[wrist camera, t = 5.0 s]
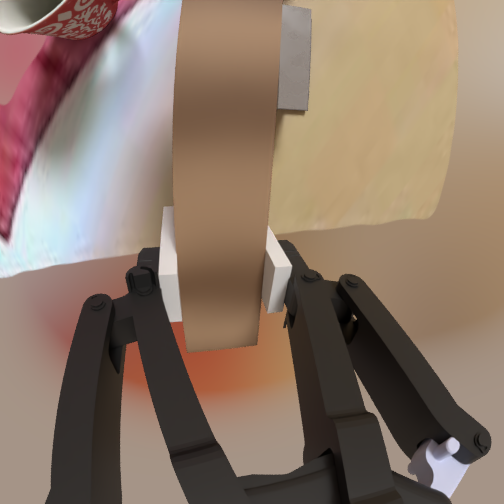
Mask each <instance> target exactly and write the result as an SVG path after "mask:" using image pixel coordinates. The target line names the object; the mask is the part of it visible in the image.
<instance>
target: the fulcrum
mask: <svg viewBox="0 0 504 504" xmlns="http://www.w3.org/2000/svg"><path fill="white" fill-rule="evenodd" d="M311 23H312V19H311V9H306V8H301V7H295V6H289V5H282V25H281V44H280V61H279V78H278V94H277V109H289V110H305V111H308V98H309V80H310V57H311Z"/></svg>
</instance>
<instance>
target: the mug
mask: <svg viewBox="0 0 504 504" xmlns="http://www.w3.org/2000/svg"><path fill="white" fill-rule="evenodd" d="M118 1H119V0H0V33H3V34H6V35H13V34H19V33H28V34H40V35H47V36H55V37H62V38H66V39H70V40H81V39H86V38H89V37H91V36H93V35H95V34H97V33H98V32H100V31H101V30H102V29H104V28H105V27H106V26H107V25H108V24H109V23H110V21H111V20H112V18H113V17H114V15H115V13H116V10H117V6H118Z"/></svg>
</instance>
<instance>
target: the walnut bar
mask: <svg viewBox="0 0 504 504" xmlns="http://www.w3.org/2000/svg"><path fill="white" fill-rule="evenodd" d="M282 5H283V0H183V1H182V8H181V16H180V24H179V33H178V43H177V54H176V67H175V83H174V104H173V203H174V225H175V242H176V254H177V265H178V277H179V289H180V299H181V310H182V318H183V326H184V333H185V342H186V349H187V353H189V352H201V351H212V350H221V349H230V348H238V347H246V346H254V345H257V341H258V330H259V320H260V308H261V297H262V286H263V276H264V265H265V253H266V242H267V230H268V218H269V205H270V192H271V179H272V166H273V153H274V139H275V124H276V109H277V94H278V78H279V61H280V44H281V25H282Z"/></svg>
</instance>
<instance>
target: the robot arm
mask: <svg viewBox="0 0 504 504" xmlns="http://www.w3.org/2000/svg"><path fill="white" fill-rule="evenodd" d="M125 278H126V283H127V287H128V291H129V293H128V294H126V295H125V296H123V297H120V298H117V299H114V300H112V299H111V298H110V297H109V296H108V295H106V294H95V295H93V296H90V297H89V298H88V299H87V300H86V301H85V303H84V304H83V307H82V310H81V314H80V317H79V320H78V323H77V326H76V330H75V334H74V337H73V341H72V345H71V348H70V352H69V356H68V360H67V365H66V369H65V373H64V377H63V382H62V387H61V392H60V398H59V403H58V409H57V416H56V424H55V431H54V440H53V450H52V465H51V489H50V492H49V495H48V497H47V500H46V502H45V504H122V491H121V472H120V417H121V397H122V384H123V372H124V362H125V351H126V344H129V343H132V342H135V341H138V345H139V350H140V355H141V359H142V364H143V367H144V372H145V376H146V379H147V384H148V387H149V391H150V394H151V398H152V402H153V405H154V408H155V412H156V415H157V418H158V421H159V425H160V428H161V431H162V434H163V436H164V439H165V442H166V445H167V448H168V451H169V454H170V459H171V462H172V465H173V468H174V471H175V473H176V476H177V478H178V480H179V483H180V485H181V487H182V490H183V492H184V494H185V496H186V499H187V501H188V503H189V504H452V503H451V501H450V499H449V498H450V497H451V495H452V493H453V492H454V490H455V489H456V487H457V485H458V484H459V482H460V480H461V479H462V477H463V475H464V473H465V472H466V470H467V468H468V466H469V465H470V464H471V463H473V462H475V461H476V460H478V459H480V458H481V457H483V456H485V455H486V454H487V453H488V452H489V450H490V447H491V437H490V434H489V432H488V431H487V430H486V428H484V427H483V426H482V425H481V424H480V423H478V422H477V421H476V420H475V419H474V418H472V417H471V416H470V415H469V414H467V413H466V412H465V411H464V410H463V409H462V408H460V407H459V406H458V405H457V404H456V402H455V401H454V399H453V398H452V396H451V395H450V393H449V392H448V390H447V389H446V387H445V386H444V384H443V383H442V382H441V380H440V379H439V377H438V376H437V375H436V373H435V372H434V370H433V369H432V368H431V366H430V365H429V364H428V362H427V361H426V359H425V358H424V357H423V355H422V354H421V352H420V351H419V350H418V348H417V347H416V346H415V344H413V342H412V341H411V339H410V338H409V337H408V335H407V334H406V333H405V332H404V330H403V329H402V328H401V326H400V325H399V324H398V323H397V322H396V320H395V319H394V317H393V316H392V315H391V314H390V312H389V311H388V310H387V309H386V308H385V306H384V305H383V304H382V303H381V302H380V300H379V299H378V298H377V297H376V295H375V294H374V293H373V292H372V291H371V289H370V288H369V287H368V286H367V285H366V283H365V282H364V281H363V280H362V279H361V278H359V277H357V276H355V275H352V274H344V275H342V276H341V277H340V279H339V281H338V282H336V281H328V280H324V279H323V277H322V276H321V274H319V273H318V272H317V271H314V270H311V269H309V268H308V266H307V265H306V263H305V262H304V260H303V259H302V257H301V256H300V254H299V252H298V251H297V250H296V248H295V246H294V245H293V244H292V243H290V242H289V241H287V240H277V239H276V238H275V236H274V234H273V233H272V231H271V229H270V228H269V226H268V230H267V242H266V253H265V265H264V276H263V286H262V297H261V298H262V300H263V302H264V305H265V308H266V311H267V313H274V312H282V311H283V307H284V303H285V305H286V307H287V313H286V318H285V321H284V326H283V328H286V324H287V327H288V333H289V339H290V345H291V352H292V358H293V364H294V371H295V377H296V384H297V390H298V397H299V404H300V411H301V418H302V424H303V432H304V440H305V446H304V451H303V463H304V465H303V466H301V467H300V468H298V469H296V470H294V471H293V472H291V473H289V474H284V475H255V474H254V475H253V474H252V475H247V476H241V477H236V475H235V473H234V471H233V469H232V467H231V465H230V463H229V461H228V459H227V457H226V455H225V454H224V451H223V450H222V448H221V446H220V445H219V444H218V442H217V441H216V439H215V437H214V435H213V433H212V431H211V428H210V426H209V424H208V422H207V419H206V417H205V415H204V413H203V410H202V408H201V405H200V403H199V401H198V398H197V396H196V394H195V391H194V388H193V386H192V383H191V381H190V378H189V375H188V373H187V370H186V368H185V365H184V362H183V359H182V356H181V354H180V351H179V348H178V345H177V343H176V339H175V336H174V333H173V330H172V327H171V324H170V322H181V321H182V311H181V299H180V289H179V277H178V265H177V254H176V242H175V225H174V206H166V207H164V210H163V220H162V231H161V243H160V247H154V248H143V249H142V250H141V252H140V253H139V255H138V262H137V266H135V267H133V268H131V269H129V271H128V272H127V273H126V277H125ZM353 315H355V316H356V318H357V320H355V319H354V317H353ZM354 370H355V372H356V373H357V375H358V377H359V378H360V380H361V382H362V383H363V385H364V387H365V389H366V390H367V392H368V394H369V395H370V397H371V399H372V401H373V402H374V404H375V406H376V408H377V409H378V411H379V413H380V414H381V416H382V418H383V420H384V421H385V423H386V425H387V427H388V429H389V430H390V432H391V434H392V436H393V437H394V439H395V441H396V442H397V444H398V445H399V447H400V448H401V449H402V451H403V452H404V453H405V454H406V455H407V456H408V457H409V458H410V459H411V463H410V464H409V465H408V472H409V473H410V474H412V475H414V474H416V476H417V479H418V482H416V481H414V480H411V479H409V478H407V477H405V476H403V475H400V474H398V473H396V472H394V471H392V470H391V468H390V464H389V459H388V455H387V452H386V447H385V444H384V440H383V436H382V433H381V429H380V425H379V422H378V420H377V417H376V416H375V415H374V414H373V413H370V412H367V411H366V409H365V406H364V402H363V399H362V395H361V392H360V389H359V385H358V382H357V378H356V375H355V372H354Z"/></svg>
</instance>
